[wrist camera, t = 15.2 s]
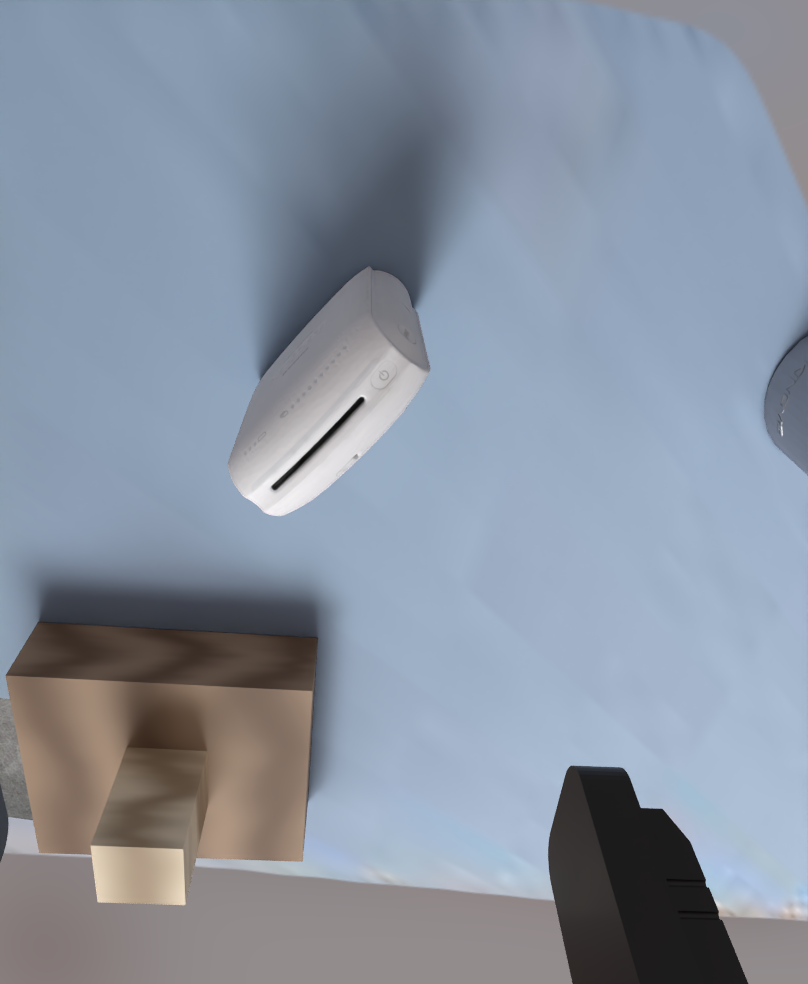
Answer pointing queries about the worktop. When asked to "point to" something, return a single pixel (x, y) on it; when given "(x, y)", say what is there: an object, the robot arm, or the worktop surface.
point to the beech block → (151, 827)
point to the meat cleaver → (12, 766)
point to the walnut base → (167, 728)
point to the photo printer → (330, 394)
